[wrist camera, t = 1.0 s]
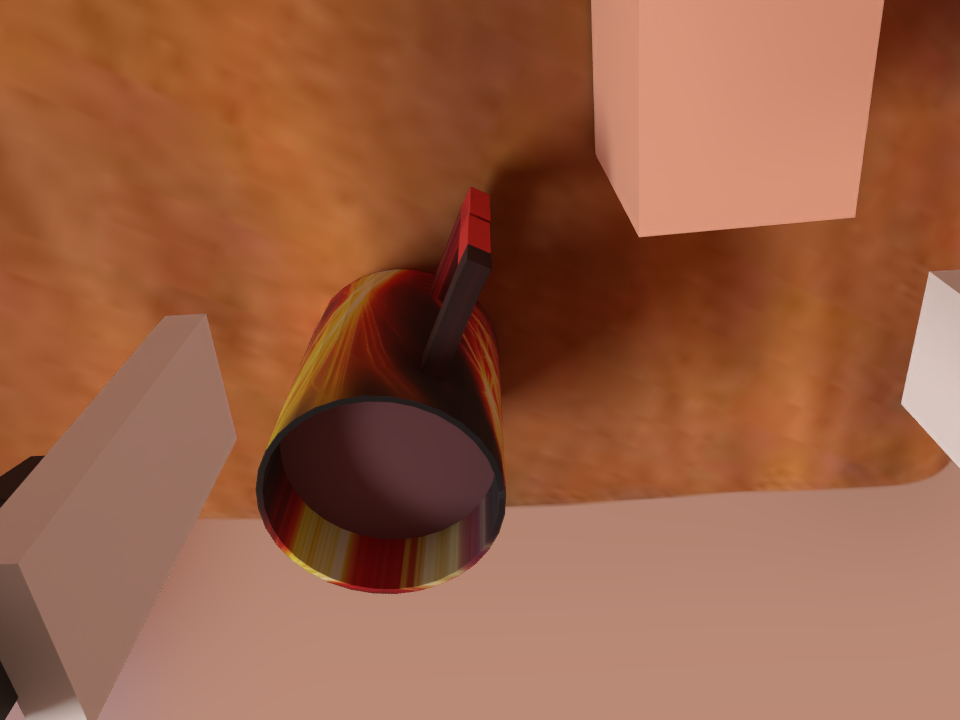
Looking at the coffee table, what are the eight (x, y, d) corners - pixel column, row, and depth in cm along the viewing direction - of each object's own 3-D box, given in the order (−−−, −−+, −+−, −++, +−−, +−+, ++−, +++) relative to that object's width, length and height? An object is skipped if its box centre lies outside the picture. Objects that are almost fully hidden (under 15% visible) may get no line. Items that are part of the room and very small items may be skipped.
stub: (589, -44, 32) (639, -33, 22) (765, -63, 32) (894, -60, 22) (595, 154, 36) (639, 238, 26) (751, 138, 35) (856, 218, 26)
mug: (488, 177, 37) (492, 278, 26) (504, 427, 43) (512, 587, 33) (282, 191, 37) (203, 296, 26) (329, 437, 43) (281, 599, 33)
